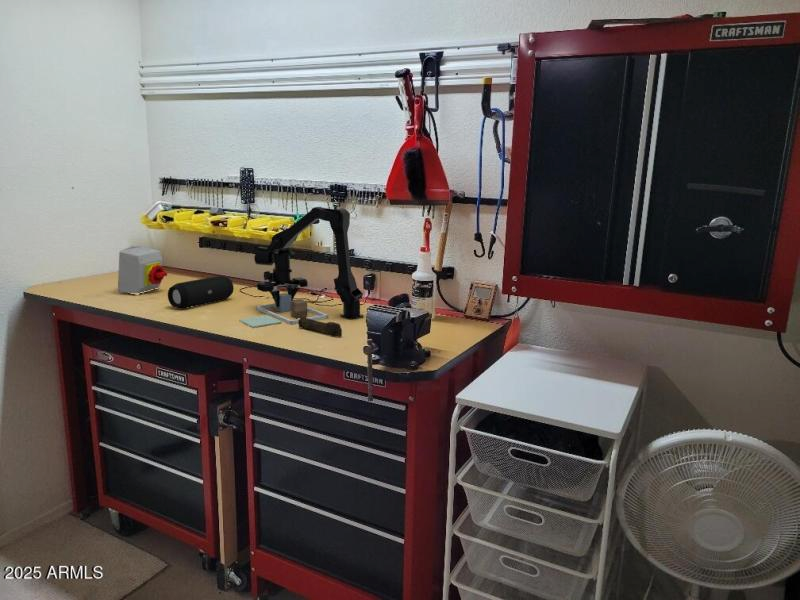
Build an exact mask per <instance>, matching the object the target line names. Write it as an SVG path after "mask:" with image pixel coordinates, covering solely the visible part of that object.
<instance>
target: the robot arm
mask: <svg viewBox="0 0 800 600" xmlns="http://www.w3.org/2000/svg"><path fill="white" fill-rule="evenodd" d="M350 215H351V214H350V212H349V211H348V210H347V209H346V208H345V207H344V208H343V207H342V208H341V207H340V208H335V209H334V208H328V207H327V208H326V207H321V206H315V207H312V208H311V210H310V211H308V212H307V213H306V214H304V215H303V216H302V217H301V218H299V219H298V220H297V221H296V222H294V223H292V225H291V226H289V227H287V228H285V229H284V230H283V229H282V230H281V231H279V232H277V233H276V234H274V235H272V237H271V242H270V244H269V245H268V246H267V247H264V246H258V247H257V248H256V251H255V255H254V257H253V259H254V263H255V265H258V266H273V265H274V268H273V269H272V272H271V271H269V270H267V271H264V272H263V279H264V281H259V282H258V283H257V285H256V288H257V291H260V292H265V293H267V292H269V293H270V295H271V296H272V298H273V301H274V303H275V304H276V306H277V307H279V298H280V294H281V293H280V290H278V288H284V287H285V288H286V289H287V294H289V295H291V301H293V300H294V298H295V296H296V294H297V293H298V291H299V290H300V289H301V288H306V287H308V286H309V282H308V279H306V278H303V277H293V278H292V279H291V273H292V272H293V270H292V268H291V256H293V255H296V252H295V251H293V249H292V248H289V247H290V246H291V245H292V244H293V243H294V242H295V241H296V240H297V237H298V236H299V235H300V234H301V233H303V232H304V231H305V230H307V228H309V227H311V226H312V225H313V224H314V223H315V222H317V221H318V220H321V221H324V222H325V221H326V222H329V226H330V228H331V230H332V232H333V235H334V240H335V248H336V249H335V250H336V259H337V261H336V262H337V268H338V275H337V277H335V278H333V283H334V290H335V291H336V293H337V295H338V296H339V298H340V300H341V303H343V306H342V308H343V311H342V313H341V314H339V315H340V317H342V318H344V319H346V320H353V319H360V318H364V315H363V314H361V300H362V298H363V295H364V293H363V292H362V291H361V290H360V288H358V285H357V281H356V278H355V275H354V274H353V272H352V267H351V258H350V256H351V255H350V248H349V247H350V246H349V237H348V231H349V227H350V220H351V216H350ZM286 248H287V249H286Z"/></svg>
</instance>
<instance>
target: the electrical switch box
mask: <svg viewBox="0 0 800 600" xmlns="http://www.w3.org/2000/svg"><path fill="white" fill-rule="evenodd" d="M118 254H119V255H118V276H117V277H118V278H117V291H118V292H120V293H124V292H129V293H140V292H144V291H148V290H151V289H155V288H158V287H159V288H160V286H161V284H162V281H163V280H164V277H167V276H168V272H167V271H165V269H164V268H163V257H162V252H161V250H157V249H154V248H149V247H145V246H140V245H130V246H128V247H125V248H123V249H121V250H120V251H119V252H118ZM159 288H158V289H159Z"/></svg>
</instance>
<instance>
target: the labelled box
mask: <svg viewBox="0 0 800 600" xmlns="http://www.w3.org/2000/svg"><path fill="white" fill-rule="evenodd" d="M290 301H291V295H289V294H288V292H287V293H286V292H284V293H280V298H279V307H277V306H276V304H275V307H274V308H275V311H278V312H280V313H284V312H291V311H290Z"/></svg>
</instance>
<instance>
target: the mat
mask: <svg viewBox="0 0 800 600" xmlns="http://www.w3.org/2000/svg"><path fill="white" fill-rule="evenodd" d="M238 321H241V322H243V323H245V324H247V325H249V326H251V327H256V328H259V327H258V326H262V327H266V326H265V325H269V326H273V325H272V324H275V325H279V324H278V323H281V324H282V322H283V321H281V320H279V319H277V318H274V317H272V316H270V315H268V314H265V315H261V316H254V317H246V318H241V319H238ZM241 322H240V323H241ZM243 323H242V324H243ZM245 324H244V325H245ZM247 325H246V326H247ZM249 326H248V327H249ZM251 327H250V328H251Z"/></svg>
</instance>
